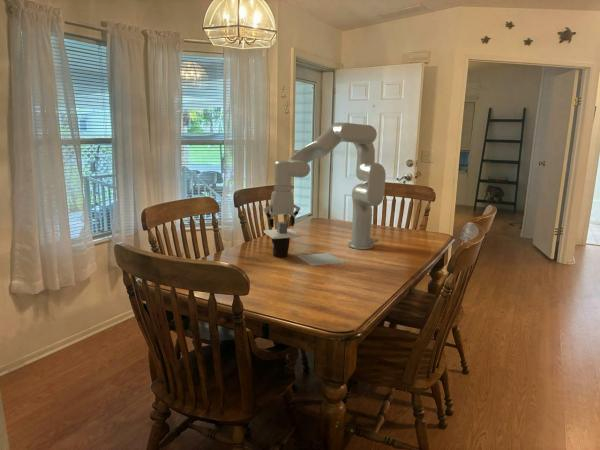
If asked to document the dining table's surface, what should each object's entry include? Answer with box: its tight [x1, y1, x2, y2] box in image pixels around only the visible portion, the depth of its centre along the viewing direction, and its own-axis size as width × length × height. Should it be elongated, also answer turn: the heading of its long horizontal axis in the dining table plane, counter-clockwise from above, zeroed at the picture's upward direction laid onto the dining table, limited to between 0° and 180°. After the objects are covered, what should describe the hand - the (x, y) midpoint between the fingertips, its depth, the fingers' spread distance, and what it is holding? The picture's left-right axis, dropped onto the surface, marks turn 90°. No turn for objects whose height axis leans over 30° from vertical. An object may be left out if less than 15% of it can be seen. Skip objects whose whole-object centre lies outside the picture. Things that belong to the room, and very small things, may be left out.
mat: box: [297, 252, 345, 267], centre depth 199 cm, size 16×16×1 cm
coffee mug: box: [271, 238, 291, 259], centre depth 203 cm, size 12×9×10 cm
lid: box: [263, 221, 302, 240], centre depth 202 cm, size 13×13×6 cm
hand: (281, 226), depth 202 cm, fingers open, 9 cm apart
